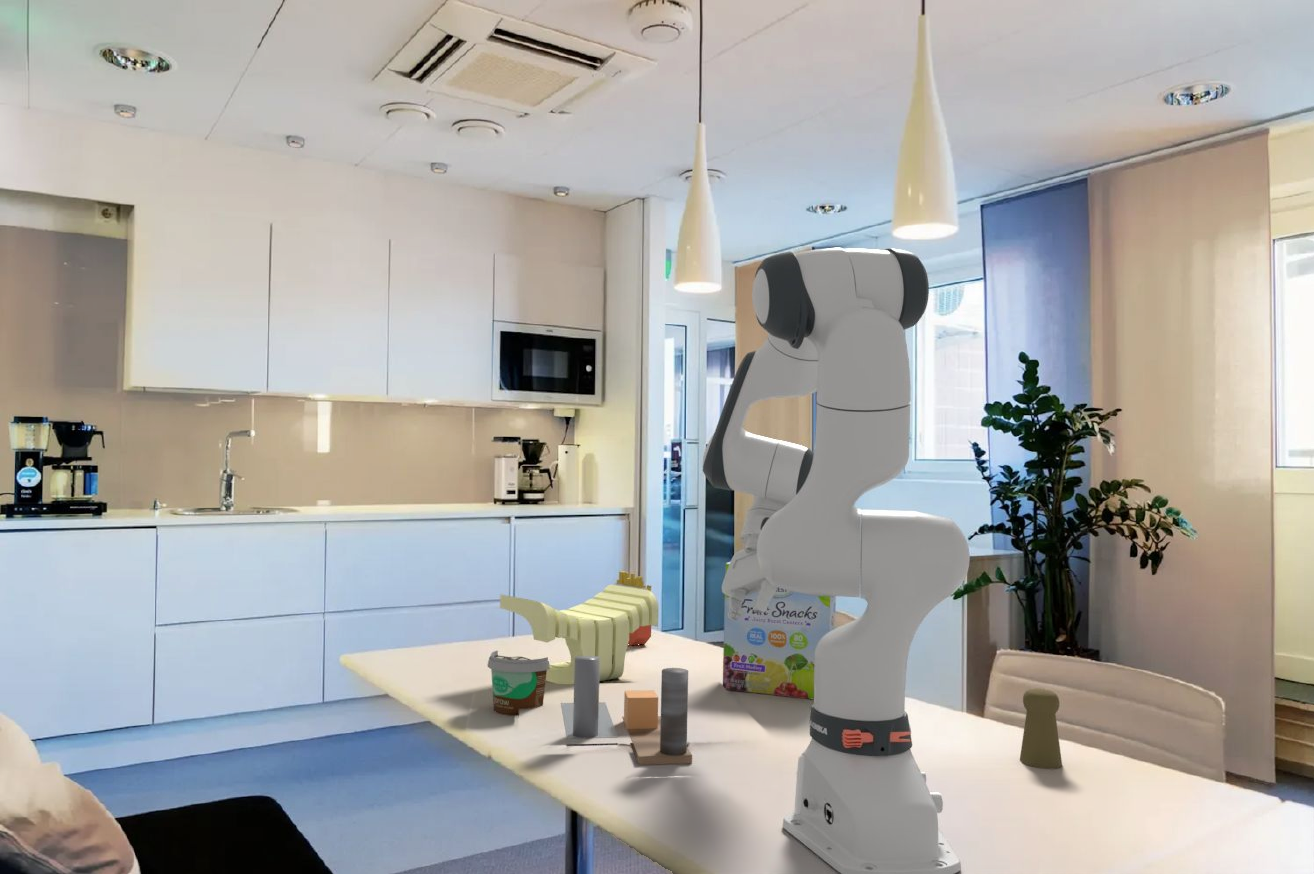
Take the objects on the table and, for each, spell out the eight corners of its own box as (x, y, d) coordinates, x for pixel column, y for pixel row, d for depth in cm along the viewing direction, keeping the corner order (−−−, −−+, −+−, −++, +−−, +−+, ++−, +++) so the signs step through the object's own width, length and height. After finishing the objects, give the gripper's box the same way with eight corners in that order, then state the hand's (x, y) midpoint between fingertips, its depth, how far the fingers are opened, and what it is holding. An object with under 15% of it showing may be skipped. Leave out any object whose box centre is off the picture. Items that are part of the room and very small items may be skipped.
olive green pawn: (1066, 770, 135) (1066, 695, 135) (1023, 766, 136) (1024, 693, 137) (1057, 758, 141) (1057, 686, 141) (1016, 754, 142) (1016, 684, 143)
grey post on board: (692, 763, 134) (693, 673, 134) (638, 764, 132) (640, 673, 133) (668, 722, 155) (669, 645, 156) (622, 723, 154) (623, 645, 155)
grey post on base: (617, 744, 142) (619, 660, 142) (566, 745, 141) (569, 660, 141) (605, 708, 164) (606, 635, 164) (560, 709, 162) (562, 635, 163)
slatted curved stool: (545, 696, 173) (548, 603, 173) (497, 681, 184) (500, 594, 185) (656, 674, 194) (658, 591, 195) (607, 662, 205) (609, 584, 206)
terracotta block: (657, 728, 147) (658, 697, 148) (627, 728, 147) (628, 697, 147) (653, 720, 152) (653, 690, 153) (623, 720, 152) (624, 690, 152)
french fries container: (628, 639, 236) (629, 570, 236) (652, 646, 227) (653, 574, 228) (613, 640, 233) (615, 570, 234) (637, 647, 224) (638, 574, 225)
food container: (471, 712, 160) (473, 655, 161) (493, 704, 166) (494, 649, 166) (528, 722, 155) (529, 663, 155) (548, 714, 160) (550, 657, 160)
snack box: (720, 691, 180) (722, 562, 181) (731, 682, 188) (733, 558, 190) (829, 702, 173) (831, 567, 174) (835, 692, 181) (837, 564, 183)
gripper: (725, 541, 158) (703, 615, 152) (779, 515, 139) (756, 598, 134) (757, 555, 159) (735, 629, 153) (814, 531, 141) (792, 614, 135)
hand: (745, 615), depth 143 cm, fingers open, 8 cm apart
